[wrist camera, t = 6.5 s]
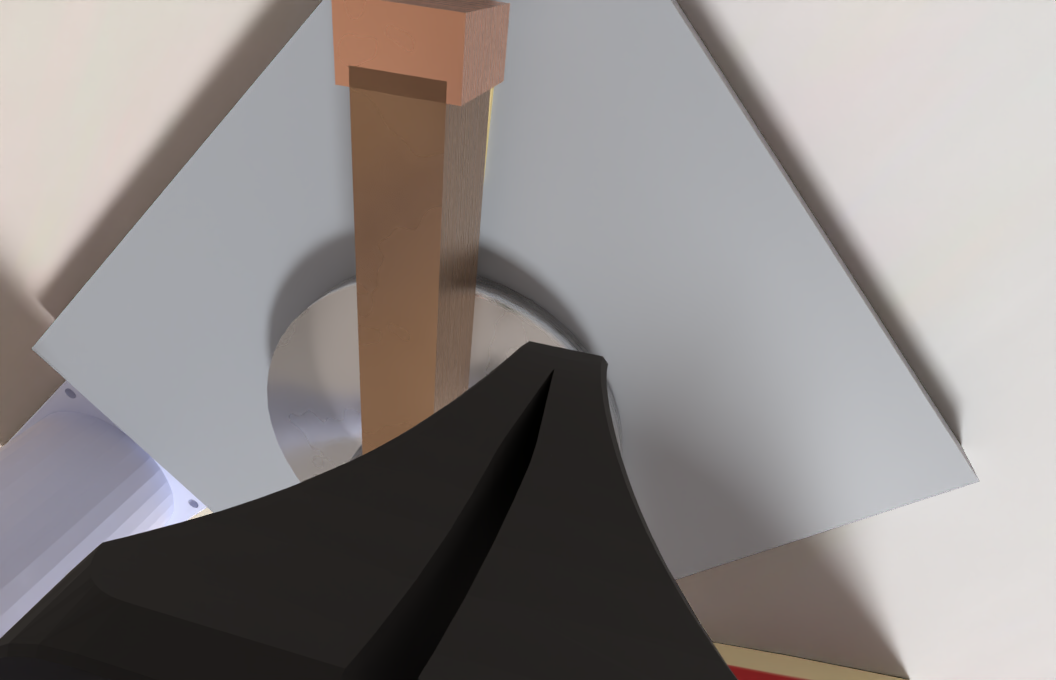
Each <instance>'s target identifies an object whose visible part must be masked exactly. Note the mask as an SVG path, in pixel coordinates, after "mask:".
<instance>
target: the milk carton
mask: <svg viewBox="0 0 1056 680" xmlns="http://www.w3.org/2000/svg"><path fill="white" fill-rule="evenodd" d="M713 644H714V645H715V647H716V648H717V650H718V651H719V653H720V654H721V656H722V657H723V659H724V661H725V662H726V664H727V665H728V666H729V668H730V669H731V671H732V672H733V673H734V675H735V676H736V678H737V679H738V680H907V679H902V678H897V677H892V676H887V675H882V674H877V673H872V672H867V671H862V670H857V669H852V668H847V667H842V666H837V665H832V664H827V663H822V662H817V661H812V660H807V659H802V658H797V657H792V656H787V655H781V654H776V653H770V652H764V651H759V650H753V649H748V648H742V647H736V646H731V645H725V644H720V643H714V642H713Z"/></svg>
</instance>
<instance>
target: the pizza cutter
mask: <svg viewBox="0 0 1056 680" xmlns="http://www.w3.org/2000/svg"><path fill="white" fill-rule="evenodd" d="M331 4H332V25H333V47H334V68H335V85H341V86H346V87H349V90H350V119H351V147H352V175H353V203H354V231H355V259H356V276H353V277H351V278H349V279H347V280H344V281H342V282H341V283H339V284H338V285H336V286H334V287H333V288H331V289H330V290H328V291H327V292H325V293H324V294H323V295H322V296H321V297H320V298H318V299H317V300H316V301H315V302H314V303H313V304H311V305H310V306H309V307H308V308H307V309H306V310H305V311H304V312H302V313H301V314H300V315H299V316H298V317H297V318H296V319H295V320H294V321H293V322H292V323H291V324H290V326H289V327H288V328H287V330H286V331H285V333H284V334H283V335H282V337H281V339H280V341H279V343H278V345H277V347H276V349H275V351H274V353H273V357H272V360H271V364H270V367H269V372H268V382H267V399H268V409H269V414H270V419H271V424H272V427H273V430H274V433H275V436H276V439H277V442H278V444H279V446H280V448H281V450H282V453H283V455H284V457H285V459H286V461H287V462H288V464H289V465H290V467H291V469H292V470H293V472H294V474H295V475H296V477H297V478H298V479H299V481H300V482H303V481H305V480H308V479H310V478H312V477H315V476H317V475H319V474H322V473H324V472H326V471H329V470H331V469H333V468H335V467H338V466H340V465H342V464H345V463H347V462H349V461H352V460H354V459H356V458H358V457H360V456H362V455H364V454H366V453H368V452H370V451H372V450H374V449H376V448H378V447H379V446H381V445H383V444H385V443H387V442H389V441H390V440H392V439H394V438H396V437H397V436H399V435H401V434H402V433H404V432H406V431H407V430H409V429H411V428H412V427H414V426H416V425H417V424H419V423H420V422H422V421H423V420H425V419H426V418H428V417H429V416H431V415H432V414H434V413H435V412H437V411H438V410H440V409H441V408H443V407H444V406H446V405H447V404H449V403H450V402H452V401H453V400H455V399H456V398H457V397H459V396H460V395H461V394H463V393H464V392H465V391H467V390H468V389H469V388H471V387H472V386H473V385H475V384H476V383H477V382H479V381H480V380H481V379H483V378H484V377H485V376H486V375H488V374H489V373H490V372H491V371H493V370H494V369H495V368H496V367H497V366H499V365H500V364H501V363H502V362H503V361H505V360H506V359H507V358H508V357H509V356H511V355H512V354H513V353H514V352H515V351H516V350H518V349H519V348H520V347H521V346H522V345H524V344H526V343H527V342H529V341H532V342H537V343H541V344H546V345H551V346H556V347H561V348H565V349H570V350H575V351H580V352H585V353H589V352H588V351H587V350H586V348H585V347H584V346H583V345H582V344H581V343H580V342H579V341H578V339H577V338H576V337H575V336H574V335H573V334H572V333H571V331H569V330H568V329H567V328H566V327H565V326H564V325H563V324H562V323H560V322H559V321H558V320H557V319H556V318H555V317H554V316H553V315H551V314H550V313H549V312H547V311H546V310H544V309H543V308H542V307H540V306H539V305H537V304H536V303H534V302H533V301H532V300H530V299H529V298H527V297H525V296H523V295H521V294H519V293H518V292H516V291H514V290H512V289H510V288H508V287H506V286H504V285H502V284H499V283H497V282H494V281H492V280H489V279H487V278H485V277H482V276H479V275H477V263H478V250H479V236H480V223H481V209H482V196H483V182H484V169H485V155H486V142H487V128H488V115H489V101H490V89H491V88H493V87H495V86H496V85H498V84H500V83H502V82H503V81H504V71H505V59H506V47H507V35H508V23H509V11H510V3H505V2H498V1H491V0H331ZM607 392H608V400H609V407H610V412H611V417H612V422H613V426H614V430H615V434H616V438H617V443H618V446H619V450H620V453H621V457H622V428H621V423H620V417H619V412H618V409H617V406H616V403H615V400H614V397H613V394H612V391H611V389H610V387H609V385H608V383H607Z"/></svg>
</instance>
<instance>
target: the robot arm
mask: <svg viewBox="0 0 1056 680" xmlns="http://www.w3.org/2000/svg"><path fill="white" fill-rule="evenodd" d="M607 368H608V363H607V361H606V360H605V359H604V357H603V356H599V355H594V354H590V353H585V352H580V351H575V350H570V349H565V348H561V347H556V346H551V345H546V344H541V343H537V342H532V341H529V342H527V343H526V344H524V345H522V346H521V347H520V348H519V349H518V350H516V351H515V352H514V353H513V354H512V355H511V356H509V357H508V358H507V359H506V360H505V361H503V362H502V363H501V364H500V365H499V366H497V367H496V368H495V369H494V370H493V371H491V372H490V373H489V374H488V375H486V376H485V377H484V378H483V379H481V380H480V381H479V382H477V383H476V384H475V385H473V386H472V387H471V388H469V389H468V390H467V391H465V392H464V393H463V394H461V395H460V396H459V397H457V398H456V399H455V400H453V401H452V402H450V403H449V404H447V405H446V406H444V407H443V408H441V409H440V410H438V411H437V412H435V413H434V414H432V415H431V416H429V417H428V418H426V419H425V420H423V421H422V422H420V423H419V424H417V425H416V426H414V427H412V428H411V429H409V430H407V431H406V432H404V433H402V434H401V435H399V436H397V437H396V438H394V439H392V440H390V441H389V442H387V443H385V444H383V445H381V446H379V447H378V448H376V449H374V450H372V451H370V452H368V453H366V454H364V455H362V456H360V457H358V458H356V459H354V460H352V461H349V462H347V463H345V464H342V465H340V466H338V467H335V468H333V469H331V470H329V471H326V472H324V473H322V474H319V475H317V476H315V477H312V478H310V479H308V480H305V481H303V482H301V483H298V484H296V485H293V486H291V487H288V488H286V489H283V490H280V491H277V492H275V493H272V494H269V495H266V496H264V497H261V498H258V499H255V500H252V501H249V502H246V503H243V504H240V505H237V506H234V507H231V508H228V509H225V510H222V511H219V512H215V513H212V514H209V515H205V516H202V517H199V518H195V519H191V520H188V519H190V518H191V517H193V516H194V515H196V514H197V513H199V512H200V511H202V510H203V509H205V508H206V506H205V505H204V504H203V503H202V502H201V501H200V500H199V499H198V498H196V497H195V496H194V495H193V494H192V493H191V492H190V491H189V490H188V489H186V488H185V487H184V486H183V485H182V484H181V483H180V482H179V481H178V480H177V479H175V478H174V477H173V476H172V475H171V474H170V473H169V472H168V471H167V470H165V469H164V468H163V467H162V466H161V465H160V464H159V463H158V462H157V461H155V460H154V459H153V458H152V457H151V456H150V455H149V454H148V453H147V452H145V451H144V450H143V449H142V448H141V447H140V446H139V445H138V444H137V443H135V442H134V441H133V440H132V439H131V438H130V437H129V436H128V435H127V434H125V433H124V432H123V431H122V430H121V429H120V428H119V427H118V426H117V425H115V424H114V423H113V422H112V421H111V420H110V419H109V418H108V417H107V416H105V415H104V414H103V413H102V412H101V411H100V410H99V409H98V408H97V407H95V406H94V405H93V404H92V403H91V402H90V401H89V400H88V399H87V398H85V397H84V396H83V395H82V394H81V393H80V392H79V391H78V390H77V389H75V388H74V387H73V386H72V385H71V384H70V383H69V382H68V381H67V380H66V381H65V382H64V383H63V384H62V385H61V386H60V387H59V388H58V389H57V390H56V391H55V392H54V393H53V395H52V396H51V397H50V398H49V399H48V400H47V401H46V402H45V403H44V404H43V405H42V406H41V407H40V408H39V409H38V410H37V411H36V413H35V414H34V415H33V416H32V417H31V418H30V419H29V420H28V421H27V422H26V423H25V424H24V425H23V426H22V427H21V428H20V430H19V431H18V432H17V433H16V434H15V435H14V436H13V437H12V438H11V439H10V440H9V441H8V442H7V443H6V444H5V445H4V446H2V447H1V448H0V680H738V679H737V678H736V676H735V675H734V673H733V672H732V671H731V669H730V668H729V666H728V665H727V664H726V662H725V661H724V659H723V657H722V656H721V654H720V653H719V651H718V650H717V648H716V647H715V645H714V644H713V642H712V641H711V639H710V638H709V636H708V635H707V633H706V632H705V630H704V629H703V627H702V625H701V624H700V622H699V621H698V619H697V617H696V615H695V614H694V612H693V610H692V609H691V607H690V605H689V603H688V602H687V600H686V598H685V596H684V595H683V593H682V591H681V589H680V588H679V586H678V584H677V582H676V581H675V579H674V577H673V576H672V574H671V572H670V570H669V569H668V567H667V565H666V563H665V561H664V559H663V557H662V555H661V553H660V551H659V549H658V547H657V545H656V543H655V541H654V539H653V537H652V535H651V533H650V530H649V528H648V526H647V524H646V521H645V519H644V517H643V514H642V512H641V510H640V507H639V505H638V502H637V500H636V497H635V495H634V492H633V489H632V487H631V484H630V481H629V478H628V475H627V472H626V469H625V466H624V463H623V460H622V457H621V453H620V450H619V446H618V443H617V438H616V434H615V430H614V426H613V422H612V417H611V412H610V407H609V400H608V392H607ZM187 520H188V521H187Z"/></svg>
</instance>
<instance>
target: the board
mask: <svg viewBox="0 0 1056 680" xmlns="http://www.w3.org/2000/svg"><path fill="white" fill-rule="evenodd" d="M491 1H498V2H505V3H510V11H509V23H508V35H507V47H506V59H505V71H504V81H503V82H502V83H500V84H498V85H496V86H495V87H493V88H491V89H490V101H489V115H488V128H487V142H486V155H485V169H484V182H483V196H482V209H481V223H480V236H479V250H478V263H477V275H479V276H482V277H485V278H487V279H489V280H492V281H494V282H497V283H499V284H502V285H504V286H506V287H508V288H510V289H512V290H514V291H516V292H518V293H519V294H521V295H523V296H525V297H527V298H529V299H530V300H532V301H533V302H534V303H536V304H537V305H539V306H540V307H542V308H543V309H544V310H546V311H547V312H549V313H550V314H551V315H553V316H554V317H555V318H556V319H557V320H558V321H559V322H560V323H562V324H563V325H564V326H565V327H566V328H567V329H568V330H569V331H571V333H572V334H573V335H574V336H575V337H576V338H577V339H578V341H579V342H580V343H581V344H582V345H583V346H584V347H585V348H586V350H587V351H588V352H589V353H590V354H594V355H599V356H603V357H604V359H605V360H606V361H607V363H608V368H607V383H608V385H609V387H610V389H611V391H612V394H613V397H614V400H615V403H616V406H617V409H618V412H619V417H620V423H621V428H622V460H623V463H624V466H625V469H626V472H627V475H628V478H629V481H630V484H631V487H632V489H633V492H634V495H635V497H636V500H637V502H638V505H639V507H640V510H641V512H642V514H643V517H644V519H645V521H646V524H647V526H648V528H649V530H650V533H651V535H652V537H653V539H654V541H655V543H656V545H657V547H658V549H659V551H660V553H661V555H662V557H663V559H664V561H665V563H666V565H667V567H668V569H669V570H670V572H671V574H672V576H673V577H674V579H675V580H677V579H680V578H683V577H686V576H689V575H692V574H695V573H698V572H701V571H704V570H708V569H711V568H714V567H717V566H720V565H723V564H726V563H729V562H732V561H735V560H738V559H742V558H745V557H748V556H751V555H754V554H757V553H760V552H763V551H766V550H769V549H772V548H775V547H779V546H782V545H785V544H788V543H791V542H794V541H797V540H800V539H803V538H806V537H809V536H812V535H816V534H819V533H822V532H825V531H828V530H831V529H834V528H837V527H840V526H843V525H846V524H850V523H853V522H856V521H859V520H862V519H865V518H868V517H871V516H874V515H877V514H880V513H883V512H887V511H890V510H893V509H896V508H899V507H902V506H905V505H908V504H911V503H914V502H917V501H921V500H924V499H927V498H930V497H933V496H936V495H939V494H942V493H945V492H948V491H951V490H954V489H958V488H961V487H964V486H967V485H970V484H973V483H976V482H979V479H978V477H977V476H976V474H975V472H974V470H973V468H972V466H971V464H970V462H969V460H968V458H967V456H966V454H965V452H964V450H963V448H962V447H961V445H960V443H959V442H958V440H957V439H956V437H955V436H954V434H953V432H952V431H951V429H950V428H949V426H948V425H947V423H946V422H945V420H944V418H943V417H942V415H941V414H940V412H939V411H938V409H937V407H936V406H935V404H934V403H933V401H932V400H931V398H930V397H929V395H928V393H927V392H926V390H925V389H924V387H923V386H922V384H921V382H920V381H919V379H918V378H917V376H916V375H915V373H914V371H913V370H912V368H911V367H910V365H909V364H908V362H907V361H906V359H905V357H904V356H903V354H902V353H901V351H900V350H899V348H898V346H897V345H896V343H895V342H894V340H893V339H892V337H891V336H890V334H889V332H888V331H887V329H886V328H885V326H884V325H883V323H882V321H881V320H880V318H879V317H878V315H877V314H876V312H875V311H874V309H873V307H872V306H871V304H870V303H869V301H868V300H867V298H866V296H865V295H864V293H863V292H862V290H861V289H860V287H859V286H858V284H857V282H856V281H855V279H854V278H853V276H852V275H851V273H850V271H849V270H848V268H847V267H846V265H845V264H844V262H843V261H842V259H841V257H840V256H839V254H838V253H837V251H836V250H835V248H834V246H833V245H832V243H831V242H830V240H829V239H828V237H827V236H826V234H825V232H824V231H823V229H822V228H821V226H820V225H819V223H818V221H817V220H816V218H815V217H814V215H813V214H812V212H811V210H810V209H809V207H808V206H807V204H806V203H805V201H804V200H803V198H802V196H801V195H800V193H799V192H798V190H797V189H796V187H795V185H794V184H793V182H792V181H791V179H790V178H789V176H788V175H787V173H786V171H785V170H784V168H783V167H782V165H781V164H780V162H779V160H778V159H777V157H776V156H775V154H774V153H773V151H772V150H771V148H770V146H769V145H768V143H767V142H766V140H765V139H764V137H763V135H762V134H761V132H760V131H759V129H758V128H757V126H756V125H755V123H754V121H753V120H752V118H751V117H750V115H749V114H748V112H747V110H746V109H745V107H744V106H743V104H742V103H741V101H740V100H739V98H738V96H737V95H736V93H735V92H734V90H733V89H732V87H731V85H730V84H729V82H728V81H727V79H726V78H725V76H724V74H723V73H722V71H721V70H720V68H719V67H718V65H717V64H716V62H715V60H714V59H713V57H712V56H711V54H710V53H709V51H708V49H707V48H706V46H705V45H704V43H703V42H702V40H701V39H700V37H699V35H698V34H697V32H696V31H695V29H694V28H693V26H692V24H691V23H690V21H689V20H688V18H687V17H686V15H685V14H684V12H683V10H682V9H681V7H680V6H679V4H678V3H677V1H676V0H491ZM353 276H356V259H355V231H354V203H353V175H352V147H351V119H350V90H349V87H346V86H341V85H335V68H334V47H333V25H332V4H331V0H322V2H321V3H320V4H319V5H318V6H317V8H316V9H315V10H314V11H313V12H312V14H311V15H310V16H309V17H308V18H307V20H306V21H305V22H304V23H303V24H302V26H301V27H300V28H299V29H298V30H297V32H296V33H295V34H294V35H293V36H292V38H291V39H290V40H289V41H288V42H287V44H286V45H285V46H284V47H283V48H282V50H281V51H280V52H279V53H278V54H277V56H276V57H275V58H274V59H273V60H272V61H271V63H270V64H269V65H268V66H267V67H266V69H265V70H264V71H263V72H262V73H261V75H260V76H259V77H258V78H257V79H256V81H255V82H254V83H253V84H252V85H251V87H250V88H249V89H248V90H247V91H246V93H245V94H244V95H243V96H242V97H241V99H240V100H239V101H238V102H237V103H236V105H235V106H234V107H233V108H232V109H231V111H230V112H229V113H228V114H227V115H226V116H225V118H224V119H223V120H222V121H221V122H220V124H219V125H218V126H217V127H216V128H215V130H214V131H213V132H212V133H211V134H210V136H209V137H208V138H207V139H206V140H205V142H204V143H203V144H202V145H201V146H200V148H199V149H198V150H197V151H196V152H195V154H194V155H193V156H192V157H191V158H190V160H189V161H188V162H187V163H186V164H185V166H184V167H183V168H182V169H181V170H180V172H179V173H178V174H177V175H176V176H175V177H174V179H173V180H172V181H171V182H170V183H169V185H168V186H167V187H166V188H165V189H164V191H163V192H162V193H161V194H160V195H159V197H158V198H157V199H156V200H155V201H154V203H153V204H152V205H151V206H150V207H149V209H148V210H147V211H146V212H145V213H144V215H143V216H142V217H141V218H140V219H139V221H138V222H137V223H136V224H135V225H134V227H133V228H132V229H131V230H130V231H129V233H128V234H127V235H126V236H125V237H124V238H123V240H122V241H121V242H120V243H119V244H118V246H117V247H116V248H115V249H114V250H113V252H112V253H111V254H110V255H109V256H108V258H107V259H106V260H105V261H104V262H103V264H102V265H101V266H100V267H99V268H98V270H97V271H96V272H95V273H94V274H93V276H92V277H91V278H90V279H89V280H88V282H87V283H86V284H85V285H84V286H83V288H82V289H81V290H80V291H79V292H78V293H77V295H76V296H75V297H74V298H73V299H72V301H71V302H70V303H69V304H68V305H67V307H66V308H65V309H64V310H63V311H62V313H61V314H60V315H59V316H58V317H57V319H56V320H55V321H54V322H53V323H52V325H51V326H50V327H49V328H48V329H47V331H46V332H45V333H44V334H43V335H42V337H41V338H40V339H39V340H38V341H37V343H36V344H35V345H34V346H33V347H32V350H33V351H34V352H35V353H37V354H38V355H39V356H40V357H41V358H42V359H43V360H44V361H45V362H47V363H48V364H49V365H50V366H51V367H52V368H53V369H54V370H55V371H57V372H58V373H59V374H60V375H61V376H62V377H63V378H64V379H65V380H67V381H68V382H69V383H70V384H71V385H72V386H73V387H74V388H75V389H77V390H78V391H79V392H80V393H81V394H82V395H83V396H84V397H85V398H87V399H88V400H89V401H90V402H91V403H92V404H93V405H94V406H95V407H97V408H98V409H99V410H100V411H101V412H102V413H103V414H104V415H105V416H107V417H108V418H109V419H110V420H111V421H112V422H113V423H114V424H115V425H117V426H118V427H119V428H120V429H121V430H122V431H123V432H124V433H125V434H127V435H128V436H129V437H130V438H131V439H132V440H133V441H134V442H135V443H137V444H138V445H139V446H140V447H141V448H142V449H143V450H144V451H145V452H147V453H148V454H149V455H150V456H151V457H152V458H153V459H154V460H155V461H157V462H158V463H159V464H160V465H161V466H162V467H163V468H164V469H165V470H167V471H168V472H169V473H170V474H171V475H172V476H173V477H174V478H175V479H177V480H178V481H179V482H180V483H181V484H182V485H183V486H184V487H185V488H186V489H188V490H189V491H190V492H191V493H192V494H193V495H194V496H195V497H196V498H198V499H199V500H200V501H201V502H202V503H203V504H204V505H205V506H206V507H208V508H209V509H210V510H211V511H212V512H213V513H215V512H219V511H222V510H225V509H228V508H231V507H234V506H237V505H240V504H243V503H246V502H249V501H252V500H255V499H258V498H261V497H264V496H266V495H269V494H272V493H275V492H277V491H280V490H283V489H286V488H288V487H291V486H293V485H296V484H298V483H301V482H300V481H299V479H298V478H297V477H296V475H295V474H294V472H293V470H292V469H291V467H290V465H289V464H288V462H287V461H286V459H285V457H284V455H283V453H282V450H281V448H280V446H279V444H278V442H277V439H276V436H275V433H274V430H273V427H272V424H271V419H270V414H269V409H268V399H267V382H268V372H269V367H270V364H271V360H272V357H273V353H274V351H275V349H276V347H277V345H278V343H279V341H280V339H281V337H282V335H283V334H284V333H285V331H286V330H287V328H288V327H289V326H290V324H291V323H292V322H293V321H294V320H295V319H296V318H297V317H298V316H299V315H300V314H301V313H302V312H304V311H305V310H306V309H307V308H308V307H309V306H310V305H311V304H313V303H314V302H315V301H316V300H317V299H318V298H320V297H321V296H322V295H323V294H324V293H325V292H327V291H328V290H330V289H331V288H333V287H334V286H336V285H338V284H339V283H341V282H342V281H344V280H347V279H349V278H351V277H353Z"/></svg>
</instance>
